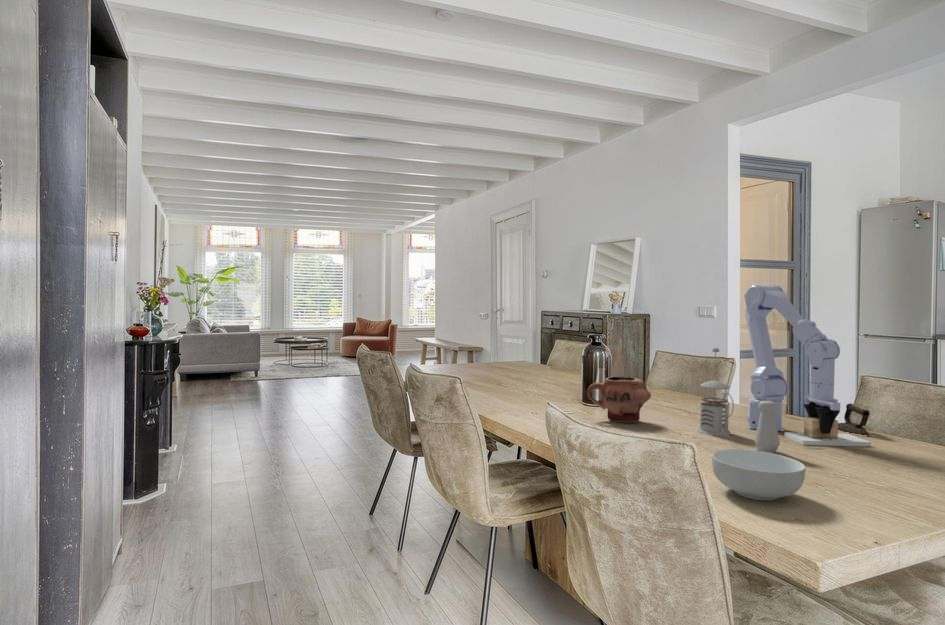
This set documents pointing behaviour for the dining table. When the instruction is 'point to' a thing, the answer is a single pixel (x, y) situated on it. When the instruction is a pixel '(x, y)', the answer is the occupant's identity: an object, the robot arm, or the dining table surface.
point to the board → (828, 440)
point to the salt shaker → (767, 428)
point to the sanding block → (814, 429)
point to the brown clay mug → (621, 397)
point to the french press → (714, 409)
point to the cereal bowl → (758, 473)
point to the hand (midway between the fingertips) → (820, 431)
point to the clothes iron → (854, 427)
